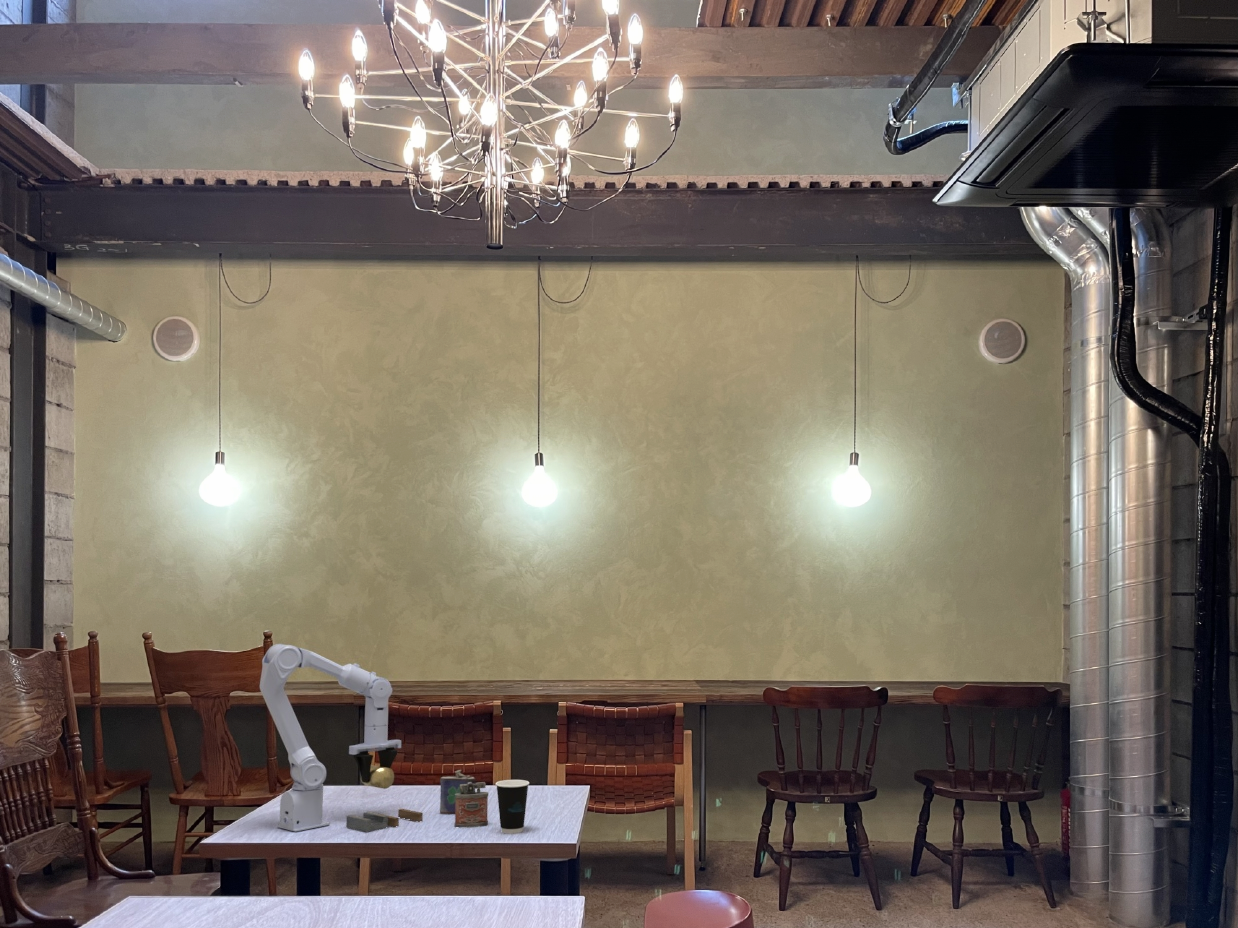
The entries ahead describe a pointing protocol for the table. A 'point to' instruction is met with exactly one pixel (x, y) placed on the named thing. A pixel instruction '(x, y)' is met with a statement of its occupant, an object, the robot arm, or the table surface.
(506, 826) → the dixie cup
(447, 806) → the flask
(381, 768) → the gold capsule
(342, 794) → the table surface
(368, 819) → the v block
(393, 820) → the brown u-shaped block
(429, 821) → the table surface
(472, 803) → the lighter
